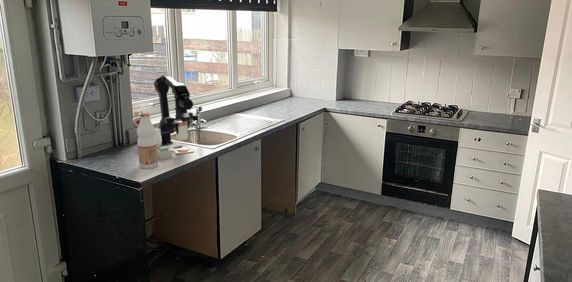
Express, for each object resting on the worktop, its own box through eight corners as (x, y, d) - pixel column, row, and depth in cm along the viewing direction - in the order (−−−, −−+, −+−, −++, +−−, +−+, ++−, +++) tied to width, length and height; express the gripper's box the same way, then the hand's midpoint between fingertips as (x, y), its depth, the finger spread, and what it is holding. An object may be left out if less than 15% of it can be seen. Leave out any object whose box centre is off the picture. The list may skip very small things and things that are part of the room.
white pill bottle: (176, 138, 249) (175, 121, 246) (184, 136, 252) (183, 120, 249) (179, 140, 245) (178, 123, 242) (188, 138, 247) (187, 121, 245)
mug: (167, 147, 259) (166, 130, 257) (155, 149, 253) (154, 133, 251) (156, 143, 267) (155, 127, 264) (144, 145, 261) (143, 129, 258)
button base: (155, 156, 241) (155, 149, 240) (167, 154, 245) (167, 147, 244) (160, 159, 236) (159, 152, 235) (172, 157, 240) (171, 150, 239)
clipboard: (169, 150, 254) (169, 147, 253) (185, 147, 259) (185, 144, 259) (177, 155, 244) (177, 152, 244) (193, 152, 250) (193, 149, 249)
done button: (158, 151, 240) (158, 147, 240) (165, 150, 243) (165, 145, 242) (161, 153, 237) (161, 148, 236) (168, 151, 239) (168, 147, 239)
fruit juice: (137, 169, 220) (132, 115, 213) (142, 163, 229) (138, 112, 222) (155, 169, 220) (151, 115, 213) (160, 163, 229) (156, 112, 222)
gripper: (170, 110, 231) (171, 138, 236) (201, 107, 242) (202, 134, 246) (162, 107, 240) (164, 134, 244) (193, 104, 251) (194, 130, 255)
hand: (181, 133), depth 247 cm, fingers closed on white pill bottle, 5 cm apart
